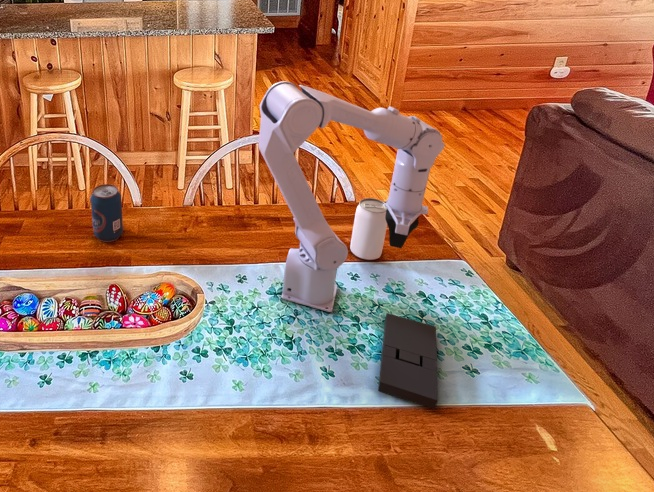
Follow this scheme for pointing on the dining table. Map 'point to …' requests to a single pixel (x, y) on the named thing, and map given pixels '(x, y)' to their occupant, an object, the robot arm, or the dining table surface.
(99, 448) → the dining table surface
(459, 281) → the dining table surface
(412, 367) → the notch pad
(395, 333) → the tab pad
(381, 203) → the can
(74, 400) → the dining table surface
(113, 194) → the soda can
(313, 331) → the dining table surface
